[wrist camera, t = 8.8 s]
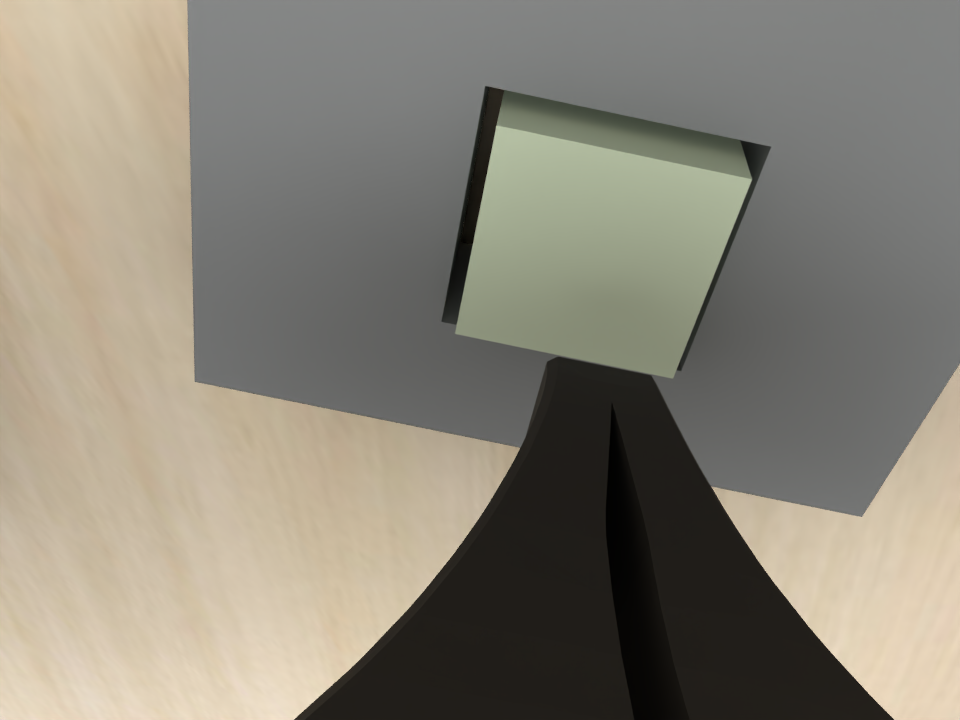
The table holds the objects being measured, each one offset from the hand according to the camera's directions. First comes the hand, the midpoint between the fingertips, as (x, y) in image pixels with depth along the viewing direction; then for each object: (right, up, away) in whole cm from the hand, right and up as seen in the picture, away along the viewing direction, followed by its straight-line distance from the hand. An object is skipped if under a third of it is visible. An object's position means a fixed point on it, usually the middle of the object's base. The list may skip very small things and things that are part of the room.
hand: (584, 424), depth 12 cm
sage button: (+1, +4, +6) cm, 7 cm away
